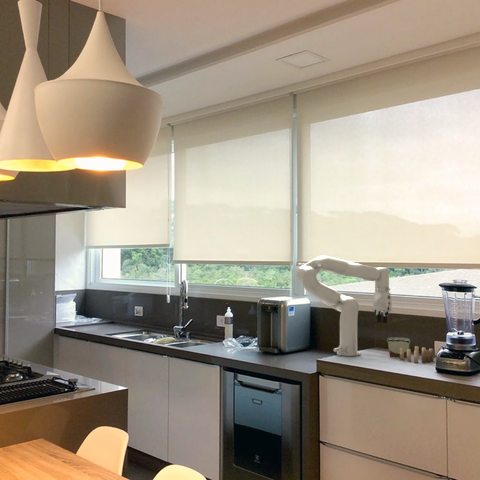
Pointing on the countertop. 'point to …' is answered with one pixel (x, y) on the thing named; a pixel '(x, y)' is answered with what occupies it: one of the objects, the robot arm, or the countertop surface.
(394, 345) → the food container
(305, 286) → the robot arm
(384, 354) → the countertop surface
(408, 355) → the peg bay
